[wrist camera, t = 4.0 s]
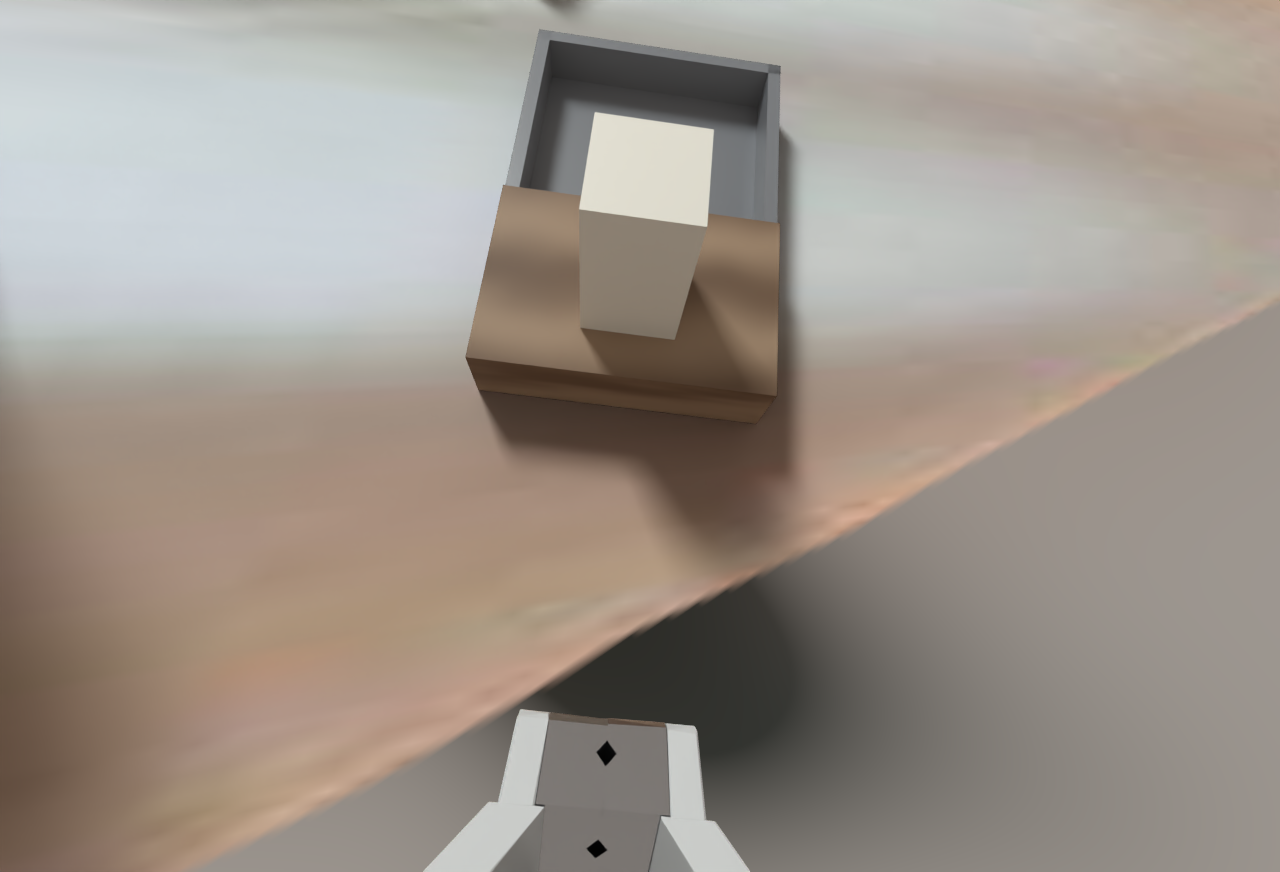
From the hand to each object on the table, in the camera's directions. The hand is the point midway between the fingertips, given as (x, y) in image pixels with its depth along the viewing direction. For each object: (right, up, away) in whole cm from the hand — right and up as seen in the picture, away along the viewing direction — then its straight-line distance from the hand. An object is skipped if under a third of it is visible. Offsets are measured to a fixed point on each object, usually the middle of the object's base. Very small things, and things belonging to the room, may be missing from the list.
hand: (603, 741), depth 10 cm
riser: (0, +12, +26) cm, 29 cm away
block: (0, +13, +22) cm, 26 cm away
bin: (+1, +23, +31) cm, 39 cm away
